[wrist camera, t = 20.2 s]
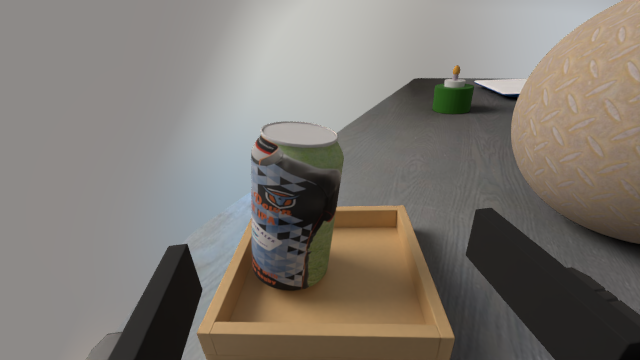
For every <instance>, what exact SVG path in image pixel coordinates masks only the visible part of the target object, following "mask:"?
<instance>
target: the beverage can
mask: <svg viewBox="0 0 640 360" xmlns="http://www.w3.org/2000/svg"><path fill="white" fill-rule="evenodd" d="M337 140H338V135H337V133H336V132H334V131H333V130H331V129H329V128H327V127H324V126H321V125H317V124H311V123H305V122H276V123H270V124H267V125H265V126H263V127H262V129H261V136H260V137H259V138H258V139H257V141H256V142H255V144H254V146H253V148H252V157H251V158H252V159H251V161H252V162H251V163H252V269H253V271H254V273H255V275H256V276H257V278H258V279H259V280H260V281H262V282H263V283H264V284H266V285H268V286H270V287H272V288H275V289H279V290H286V291H295V290H301V289H306V288H308V287H311V286H313V285H314V284H316V283H318V282H319V281H320V280H321V279H322V278H323V277H324V275H325V273H326V271H327V268H328V261H329V255H330V248H331V241H332V234H333V228H334V221H335V214H336V208H337V201H338V194H339V187H340V181H341V174H342V167H343V161H344V156H343V152H342V150H341V148H340V146H339V144H338V142H337Z"/></svg>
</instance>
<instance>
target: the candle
mask: <svg viewBox="0 0 640 360" xmlns="http://www.w3.org/2000/svg"><path fill="white" fill-rule="evenodd" d="M459 73H460V67H459V66H458V65H457V66H455V68H454V69H453V79H447V80H445V84H439V85H436V86H435V92H434V101H433V109H432V110H433V111H435V112H439V113H445V114H462V113H467V112H469V111H470V106H471V101H472V95H473V90H474V86H473V85H470V84H465V80H463V79H458V75H459Z"/></svg>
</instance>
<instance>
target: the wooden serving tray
mask: <svg viewBox="0 0 640 360" xmlns="http://www.w3.org/2000/svg"><path fill="white" fill-rule="evenodd" d="M197 336H198V338H199V341H200V343H201V346H202V349H203V351H204V354H205V356H206V359H207V360H450V357H451V353H452V349H453V345H454V341H455V336H454V333H453V331H452V328H451V326H450V323H449V321H448V318H447V315H446V313H445V310H444V308H443V305H442V302H441V300H440V297H439V295H438V292H437V289H436V287H435V284H434V282H433V279H432V276H431V274H430V271H429V269H428V266H427V264H426V261H425V258H424V256H423V253H422V251H421V248H420V245H419V243H418V240H417V238H416V235H415V232H414V230H413V227H412V225H411V222H410V220H409V217H408V214H407V212H406V209H405V207H404V206H350V207H337V208H336V214H335V221H334V228H333V234H332V241H331V248H330V255H329V261H328V268H327V271H326V273H325V275H324V277H323V278H322V279H321V280H320V281H319V282H318V283H316V284H314V285H313V286H311V287H308V288H306V289H301V290H295V291H286V290H279V289H275V288H272V287H270V286H268V285H266V284H264V283H263V282H262V281H260V280H259V279H258V278H257V276H256V275H255V273H254V271H253V269H252V218H251V220H250V222H249V224H248V226H247V228H246V230H245V233H244V235H243V237H242V239H241V241H240V243H239V245H238V247H237V249H236V251H235V254H234V256H233V258H232V260H231V262H230V264H229V266H228V268H227V270H226V273H225V275H224V277H223V279H222V281H221V283H220V285H219V287H218V289H217V292H216V294H215V296H214V298H213V300H212V302H211V304H210V306H209V308H208V310H207V313H206V315H205V317H204V319H203V321H202V323H201V325H200V327H199V329H198V332H197Z"/></svg>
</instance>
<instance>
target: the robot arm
mask: <svg viewBox="0 0 640 360" xmlns="http://www.w3.org/2000/svg"><path fill="white" fill-rule="evenodd" d="M466 256H467V257H468V258H469V260H470V261H471V262H472V263H473V264H474V265H475V267H476V268H477V269H478V270H479V271H480V272H481V274H482V275H483V276H484V277H485V278H486V279H487V281H488V282H489V283H490V284H491V285H492V286H493V288H494V289H495V290H496V291H497V292H498V293H499V295H500V296H501V297H502V298H503V299H504V301H505V302H506V303H507V304H508V305H509V306H510V308H511V309H512V310H513V311H514V312H515V313H516V315H517V316H518V317H519V318H520V319H521V320H522V322H523V323H524V324H525V325H526V326H527V327H528V329H529V330H530V331H531V332H532V333H533V334H534V336H535V337H536V338H537V339H538V340H539V341H540V343H541V344H542V345H543V346H544V347H545V348H546V350H547V351H548V352H549V353H550V354H551V355H552V357H553V358H554V359H555V360H640V315H639V314H638V313H636V312H635V311H634V310H632V309H631V308H630V307H629V306H627V305H626V304H625V303H623V302H622V301H619V300H618V298H617V297H616V296H614V295H613V294H612V293H610V292H609V291H606V290H605V288H604V287H603V286H601V285H600V284H599V283H597V282H596V281H595V280H593V279H592V278H591V277H589V276H587V275H586V274H584V273H582V272H580V271H578V270H576V269H574V268H572V267H571V268H566V267H564V266H563V265H562V264H561V263H560V262H558V261H557V260H556V259H555V258H553V257H552V256H551V255H550V254H548V253H547V252H546V251H545V250H543V249H542V248H541V247H540V246H538V245H537V244H536V243H535V242H533V241H532V240H531V239H530V238H528V237H527V236H526V235H525V234H523V233H522V232H521V231H520V230H518V229H517V228H516V227H515V226H513V225H512V224H511V223H510V222H508V221H507V220H506V219H505V218H503V217H502V216H501V215H500V214H498V213H497V212H496V211H495V210H493V209H492V208H485V209H477V210H476V212H475V216H474V221H473V225H472V229H471V234H470V238H469V243H468V247H467V252H466ZM201 293H202V287H201V284H200V281H199V278H198V275H197V272H196V269H195V266H194V263H193V260H192V257H191V254H190V251H189V248H188V245H187V244H182V245H173V246H169V247H168V248H167V250H166V252H165V254H164V256H163V258H162V260H161V261H160V264H159V265H158V267H157V269H156V271H155V272H154V275H153V276H152V278H151V280H150V282H149V284H148V286H147V287H146V289H145V291H144V293H143V295H142V297H141V298H140V300H139V302H138V304H137V306H136V308H135V310H134V311H133V313H132V315H131V317H130V319H129V321H128V323H127V324H126V326H125V328H124V330H123V332H118V333H111V334H107V335H106V336H105V337H104V338H103V339H102V340H101V341H100V342H99V343H98V344H97V345H96V346H95V347H94V348H93V349H92V350H91V352H90V354H89V355H88V357H87V359H86V360H181V358H182V355H183V351H184V348H185V345H186V342H187V339H188V335H189V332H190V329H191V326H192V322H193V319H194V316H195V313H196V310H197V306H198V303H199V300H200V297H201Z"/></svg>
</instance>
